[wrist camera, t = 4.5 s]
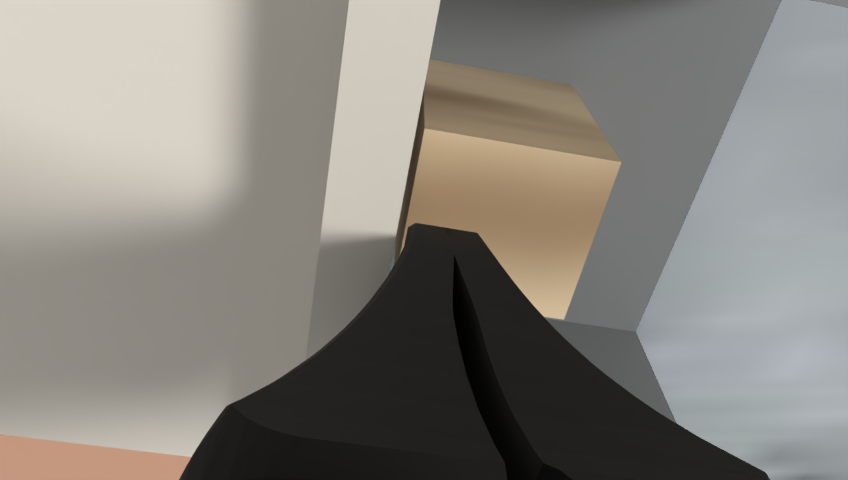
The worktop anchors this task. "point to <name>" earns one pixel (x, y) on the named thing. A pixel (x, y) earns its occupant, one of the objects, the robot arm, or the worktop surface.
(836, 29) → the worktop surface
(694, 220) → the worktop surface
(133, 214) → the cover
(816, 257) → the worktop surface
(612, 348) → the case
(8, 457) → the tile
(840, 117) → the worktop surface
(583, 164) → the block
